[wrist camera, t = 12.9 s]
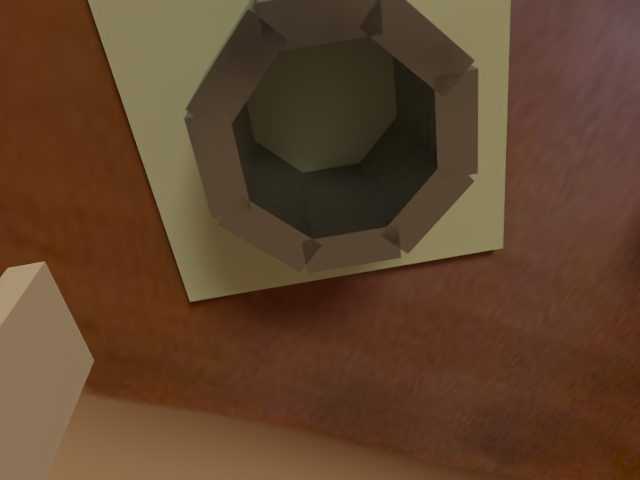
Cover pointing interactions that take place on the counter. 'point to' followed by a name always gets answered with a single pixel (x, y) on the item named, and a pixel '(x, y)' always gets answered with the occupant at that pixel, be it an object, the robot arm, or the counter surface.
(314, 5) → the grey hollow octagonal ring
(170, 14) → the sage mat
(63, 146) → the counter surface
